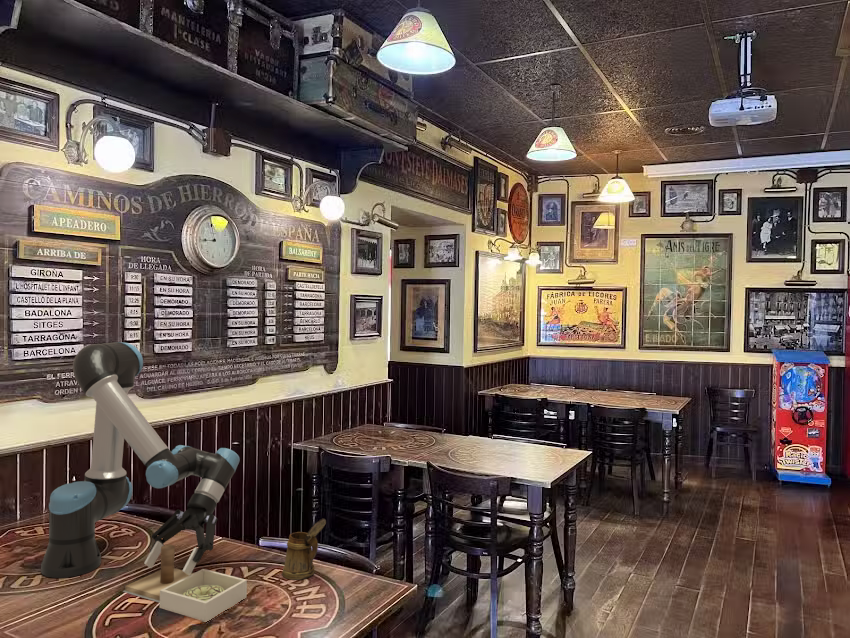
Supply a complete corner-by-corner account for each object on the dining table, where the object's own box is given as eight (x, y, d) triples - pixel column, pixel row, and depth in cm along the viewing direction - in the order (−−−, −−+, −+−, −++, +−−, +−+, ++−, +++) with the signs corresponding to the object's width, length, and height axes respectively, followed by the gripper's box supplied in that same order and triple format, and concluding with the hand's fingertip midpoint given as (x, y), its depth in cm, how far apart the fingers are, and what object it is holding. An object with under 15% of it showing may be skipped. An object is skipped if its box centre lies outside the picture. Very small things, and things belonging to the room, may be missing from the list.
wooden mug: (311, 587, 174) (312, 522, 174) (275, 574, 181) (277, 513, 181) (332, 576, 182) (334, 514, 181) (297, 564, 189) (299, 505, 189)
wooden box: (159, 610, 159) (159, 590, 159) (202, 586, 172) (203, 568, 172) (205, 623, 153) (205, 603, 153) (246, 598, 166) (246, 579, 166)
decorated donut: (232, 606, 162) (232, 592, 162) (191, 619, 155) (191, 604, 155) (215, 592, 170) (216, 578, 170) (175, 603, 163) (176, 589, 163)
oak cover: (125, 590, 167) (126, 551, 167) (167, 570, 181) (168, 533, 181) (165, 602, 162) (166, 561, 161) (206, 580, 175) (207, 543, 175)
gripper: (246, 509, 180) (210, 582, 167) (179, 500, 190) (140, 568, 177) (233, 496, 175) (195, 570, 162) (165, 487, 185) (124, 556, 172)
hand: (166, 569), depth 169 cm, fingers open, 13 cm apart
